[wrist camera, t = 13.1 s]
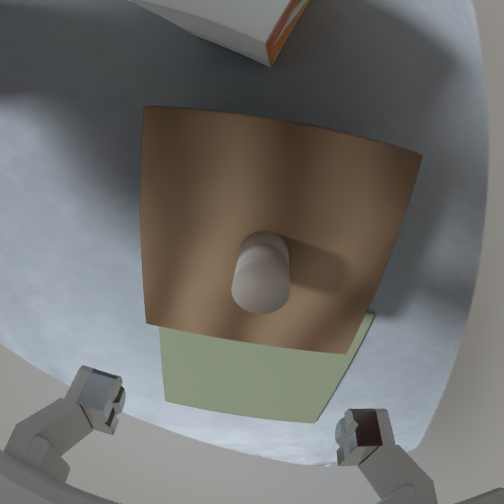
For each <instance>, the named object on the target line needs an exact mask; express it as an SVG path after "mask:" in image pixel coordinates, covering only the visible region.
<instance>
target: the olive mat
mask: <svg viewBox="0 0 504 504" xmlns="http://www.w3.org/2000/svg"><path fill="white" fill-rule="evenodd" d="M373 317H374V313H371V312H366V314H365V316H364V319H363V321H362V323H361V325H360V327H359V329H358V332H357V334H356V336H355V338H354V340H353V342H352V344H351V346H350V348H349V350H348V352H347V354H346V355H345V354H334V353H324V352H315V351H306V350H297V349H289V348H282V347H274V346H267V345H260V344H253V343H247V342H241V341H234V340H228V339H222V338H217V337H211V336H206V335H200V334H195V333H190V332H185V331H180V330H175V329H170V328H165V327H160V326H159V330H160V346H161V360H162V372H163V383H164V393H165V401H167V402H171V403H176V404H180V405H185V406H190V407H195V408H200V409H205V410H210V411H216V412H221V413H227V414H234V415H240V416H247V417H254V418H262V419H271V420H280V421H291V422H303V423H315V421H316V420H317V418H318V417H319V415H320V414H321V412H322V410H323V409H324V407H325V405H326V404H327V402H328V401H329V399H330V397H331V396H332V394H333V392H334V390H335V389H336V387H337V385H338V384H339V382H340V380H341V378H342V377H343V375H344V373H345V371H346V369H347V368H348V366H349V364H350V362H351V360H352V358H353V357H354V355H355V353H356V351H357V349H358V347H359V345H360V343H361V341H362V339H363V338H364V336H365V334H366V332H367V330H368V328H369V326H370V324H371V321H372V319H373Z"/></svg>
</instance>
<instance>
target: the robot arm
mask: <svg viewBox="0 0 504 504" xmlns="http://www.w3.org/2000/svg"><path fill="white" fill-rule="evenodd" d="M121 384H122V379H121V376H117V375H113V374H110V373H106V372H103V371H100V370H97V369H94V368H90V367H87V366H84V365H83V366H82V367H80V368H79V370H78V372H77V374H76V376H75V378H74V380H73V382H72V384H71V386H70V388H69V390H68V392H67V394H66V396H65V398H64V399H63V398H60V399H58V400H56V401H55V402H53V403H51V404H50V405H48V406H47V407H45V408H43V409H41V410H40V411H38V412H36V413H35V414H33V415H31V416H30V417H28V418H26V419H24V420H23V421H21V422H19V423H18V424H16V426H15V428H14V430H13V433H12V434H11V436H10V438H9V441H8V443H7V445H6V447H5V449H4V451H2V450H0V504H120V503H117V502H114V501H111V500H108V499H105V498H102V497H99V496H97V495H94V494H91V493H88V492H85V491H83V490H80V489H78V488H76V487H73V486H71V485H69V484H66V480H67V477H68V474H69V471H70V467H69V465H68V464H67V463H66V462H65V460H64V459H63V458H62V457H61V456H62V455H63V454H64V453H65V452H67V451H68V450H69V449H70V448H72V447H73V446H74V445H75V444H77V443H78V442H79V441H80V440H82V439H83V438H84V437H85V436H87V435H88V434H89V433H90V432H92V431H93V429H94V430H98V431H101V432H104V433H108V434H111V435H114V432H115V429H116V427H117V424H118V418H117V416H116V415H117V414H119V413H120V412H122V410H123V407H124V403H125V389H124V388H123V387H122V386H121ZM344 414H345V417H344V418H342V419H340V420H339V422H338V423H337V426H336V430H335V440H336V442H337V443H338V445H339V446H340V447H339V448H338V450H337V460H338V466H358V467H359V469H360V470H361V472H362V473H363V474H364V476H365V477H366V479H367V480H368V481H369V483H370V484H371V486H372V487H373V488H374V490H375V491H376V493H377V494H378V495H379V497H380V498H381V500H380V501H379V502H377V503H375V504H438V503H437V499H436V493H435V488H434V483H433V480H432V479H431V478H430V477H429V476H428V475H427V474H426V473H425V472H424V471H423V470H422V469H421V468H420V467H419V466H418V465H417V464H416V463H415V461H413V459H412V458H411V457H409V455H408V454H407V453H406V452H405V451H404V450H403V449H402V448H401V447H400V446H399V445H395V440H394V436H393V431H392V427H391V423H390V419H389V414H388V411H387V410H386V409H348V410H347V411H346V412H345V413H344ZM455 504H504V488H496V489H493V490H491V491H488V492H486V493H483V494H481V495H478V496H475V497H473V498H470V499H467V500H464V501H461V502H458V503H455Z"/></svg>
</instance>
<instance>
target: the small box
mask: <svg viewBox="0 0 504 504" xmlns="http://www.w3.org/2000/svg"><path fill="white" fill-rule="evenodd" d="M128 1H130V2H132V3H134V4H136V5H138V6H141V7H143V8H145V9H147V10H149V11H151V12H153V13H155V14H157V15H159V16H161V17H163V18H165V19H166V20H168V21H170V22H172V23H173V24H175V25H177V26H179V27H180V28H182V29H184V30H186V31H188V32H190V33H192V34H194V35H195V36H197V37H200V38H202V39H205V40H207V41H210V42H213V43H215V44H218V45H220V46H223V47H225V48H228V49H230V50H232V51H235V52H237V53H239V54H242V55H244V56H246V57H248V58H251V59H253V60H255V61H257V62H259V63H261V64H263V65H266V66H268V67H270V68H271V67H272V66H273V64H274V62H275V60H276V58H277V56H278V54H279V52H280V51H281V49H282V47H283V45H284V43H285V42H286V40H287V38H288V36H289V35H290V33H291V31H292V30H293V28H294V26H295V24H296V23H297V21H298V19H299V18H300V16H301V15H302V13H303V11H304V10H305V8H306V7H307V5H308V3H309V2H310V0H128Z"/></svg>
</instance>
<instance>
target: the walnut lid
mask: <svg viewBox="0 0 504 504" xmlns="http://www.w3.org/2000/svg"><path fill="white" fill-rule="evenodd" d="M421 160H422V156H421V155H420V154H418V153H416V152H413V151H410V150H407V149H404V148H400V147H397V146H394V145H390V144H387V143H383V142H379V141H376V140H372V139H368V138H364V137H361V136H357V135H352V134H348V133H344V132H340V131H336V130H331V129H327V128H322V127H317V126H312V125H307V124H302V123H297V122H292V121H286V120H280V119H275V118H268V117H262V116H255V115H248V114H241V113H233V112H225V111H216V110H206V109H196V108H183V107H169V106H146V107H144V112H143V127H142V146H141V179H140V221H141V255H142V274H143V290H144V303H145V315H146V323H147V324H151V325H156V326H160V327H165V328H170V329H175V330H180V331H185V332H190V333H195V334H200V335H206V336H211V337H217V338H222V339H228V340H234V341H241V342H247V343H253V344H260V345H267V346H274V347H282V348H289V349H297V350H306V351H315V352H324V353H334V354H345V355H346V354H347V352H348V350H349V348H350V346H351V344H352V342H353V340H354V338H355V336H356V334H357V332H358V329H359V327H360V325H361V323H362V321H363V319H364V316H365V314H366V312H367V310H368V307H369V305H370V303H371V301H372V298H373V296H374V294H375V291H376V289H377V287H378V284H379V282H380V279H381V277H382V274H383V272H384V269H385V267H386V264H387V262H388V259H389V257H390V254H391V251H392V249H393V246H394V243H395V241H396V238H397V235H398V232H399V230H400V227H401V224H402V221H403V218H404V215H405V212H406V209H407V206H408V203H409V200H410V197H411V194H412V190H413V187H414V184H415V181H416V177H417V174H418V170H419V167H420V163H421Z"/></svg>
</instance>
